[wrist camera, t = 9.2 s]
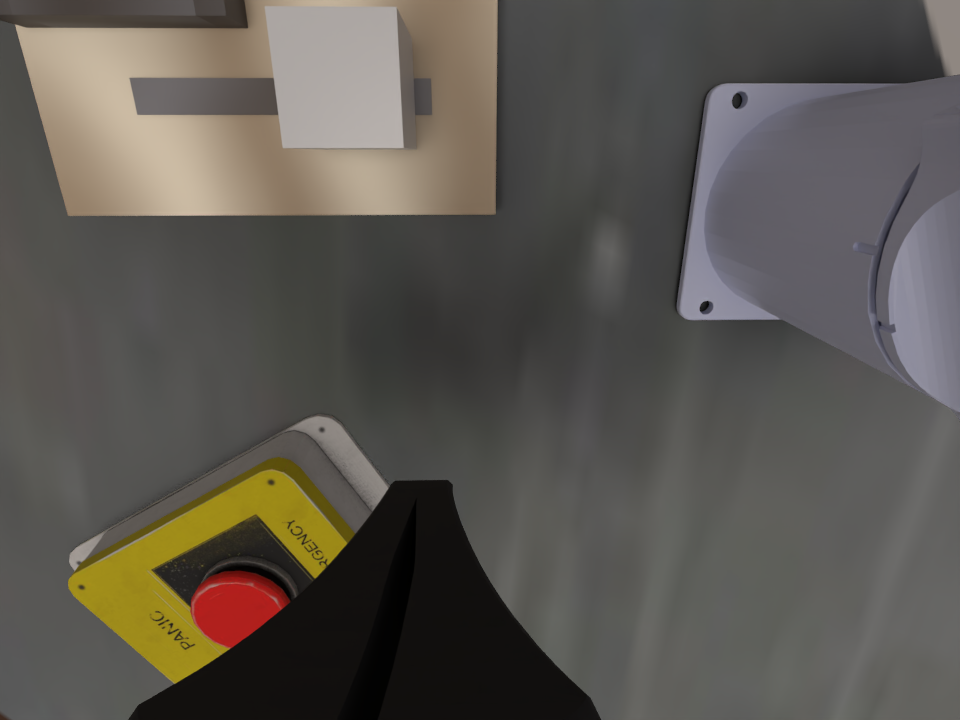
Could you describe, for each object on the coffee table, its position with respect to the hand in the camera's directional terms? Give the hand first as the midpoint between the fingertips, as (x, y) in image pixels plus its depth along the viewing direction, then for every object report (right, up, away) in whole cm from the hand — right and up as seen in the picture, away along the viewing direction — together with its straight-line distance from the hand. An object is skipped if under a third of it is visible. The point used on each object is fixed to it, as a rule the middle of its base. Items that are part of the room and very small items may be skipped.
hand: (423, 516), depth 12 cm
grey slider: (-2, +12, +4) cm, 12 cm away
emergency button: (-9, -5, +13) cm, 16 cm away
